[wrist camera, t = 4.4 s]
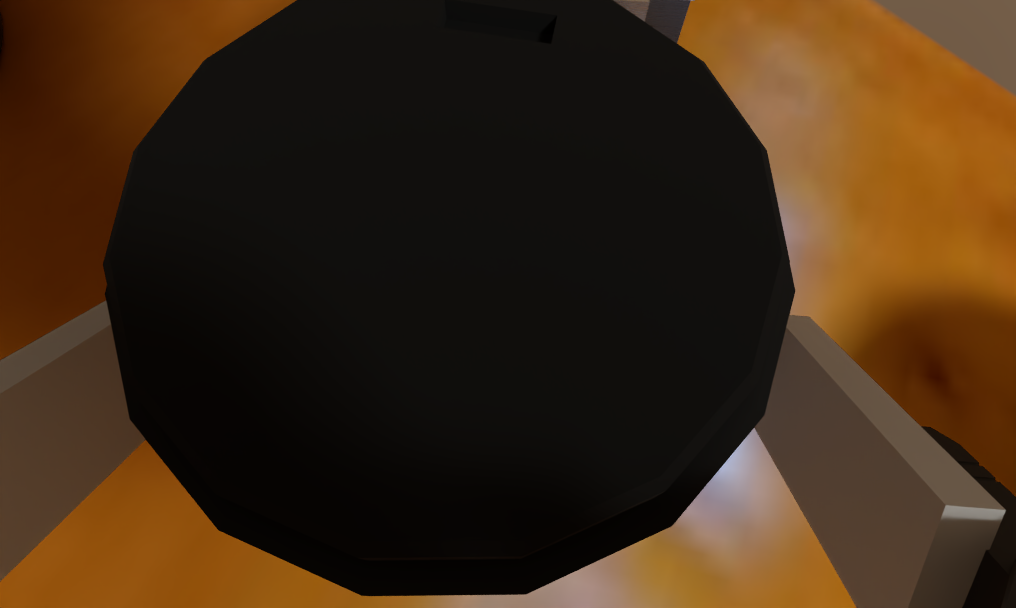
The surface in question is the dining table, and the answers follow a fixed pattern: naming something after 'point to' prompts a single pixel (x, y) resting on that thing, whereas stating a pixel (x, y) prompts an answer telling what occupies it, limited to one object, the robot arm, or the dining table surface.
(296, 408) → the coffee cup
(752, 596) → the dining table surface
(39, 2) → the dining table surface
